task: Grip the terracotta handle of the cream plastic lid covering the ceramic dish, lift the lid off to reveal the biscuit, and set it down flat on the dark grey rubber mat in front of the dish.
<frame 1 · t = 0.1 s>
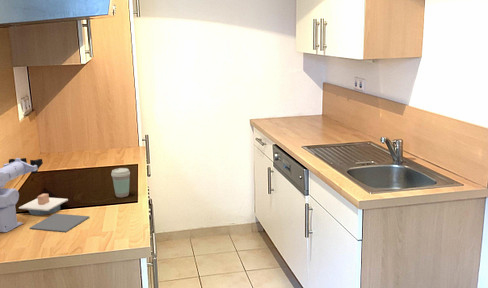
hand: (33, 160, 209), 22 cm above the worktop, tool horizontal, fingers open, 7 cm apart
dish: (44, 209, 214), on the worktop
mat: (60, 223, 199), on the worktop
lid: (44, 204, 214), point 2 cm above the worktop, touching dish
coffee cup: (122, 195, 232), on the worktop
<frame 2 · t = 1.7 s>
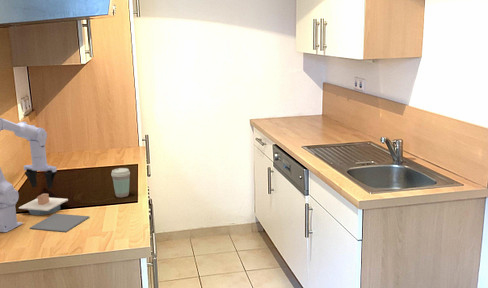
hand: (42, 187, 212), 10 cm above the worktop, tool pointing down, fingers open, 7 cm apart
nothing on the worktop moved.
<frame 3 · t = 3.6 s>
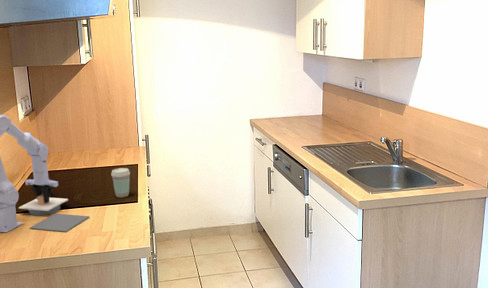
hand: (43, 201, 214), 4 cm above the worktop, tool pointing down, fingers closed on lid, 2 cm apart
lid: (44, 204, 214), point 2 cm above the worktop, touching dish, gripper
everything else where it was.
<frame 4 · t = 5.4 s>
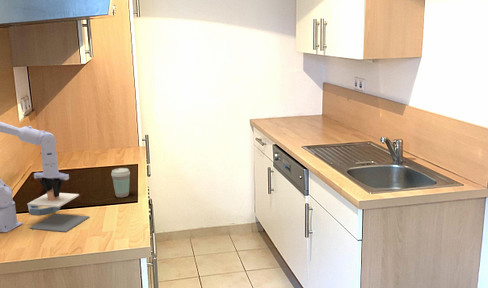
hand: (53, 196, 201), 10 cm above the worktop, tool pointing down, fingers closed on lid, 2 cm apart
lid: (53, 200, 201), point 8 cm above the worktop, touching gripper
everything else where it was.
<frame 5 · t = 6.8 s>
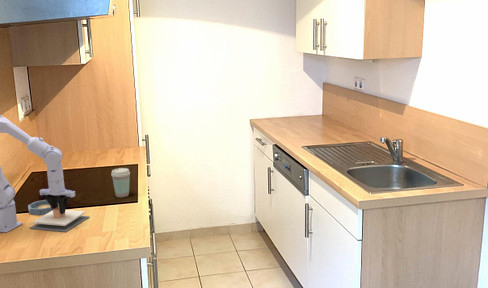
hand: (59, 213, 198), 4 cm above the worktop, tool pointing down, fingers closed on lid, 2 cm apart
lid: (59, 217, 198), point 2 cm above the worktop, touching gripper
everything else where it was.
when the fingers open (3 cm above the worktop, at t = 7.7 s): lid stays where it is, resting on mat.
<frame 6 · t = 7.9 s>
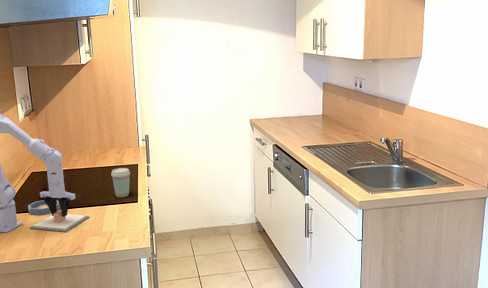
hand: (59, 215, 198), 3 cm above the worktop, tool pointing down, fingers open, 4 cm apart
lid: (60, 221, 199), resting on mat
everything else where it was.
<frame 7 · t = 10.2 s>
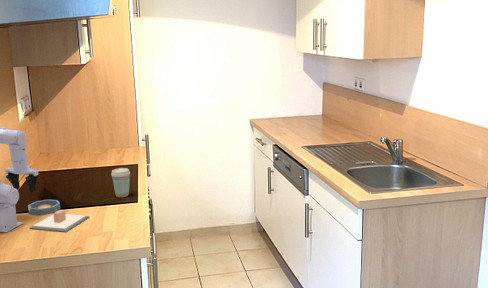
hand: (25, 190, 206), 11 cm above the worktop, tool pointing down, fingers open, 7 cm apart
nothing on the worktop moved.
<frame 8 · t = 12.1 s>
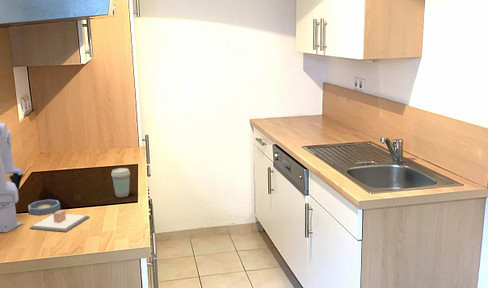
hand: (8, 190, 208), 10 cm above the worktop, tool pointing down, fingers open, 7 cm apart
nothing on the worktop moved.
at the end: lid inside the target area on the mat (0.0 cm from its centre), point 0.5 cm above the mat's base; lid touching mat; the gripper is holding nothing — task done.
